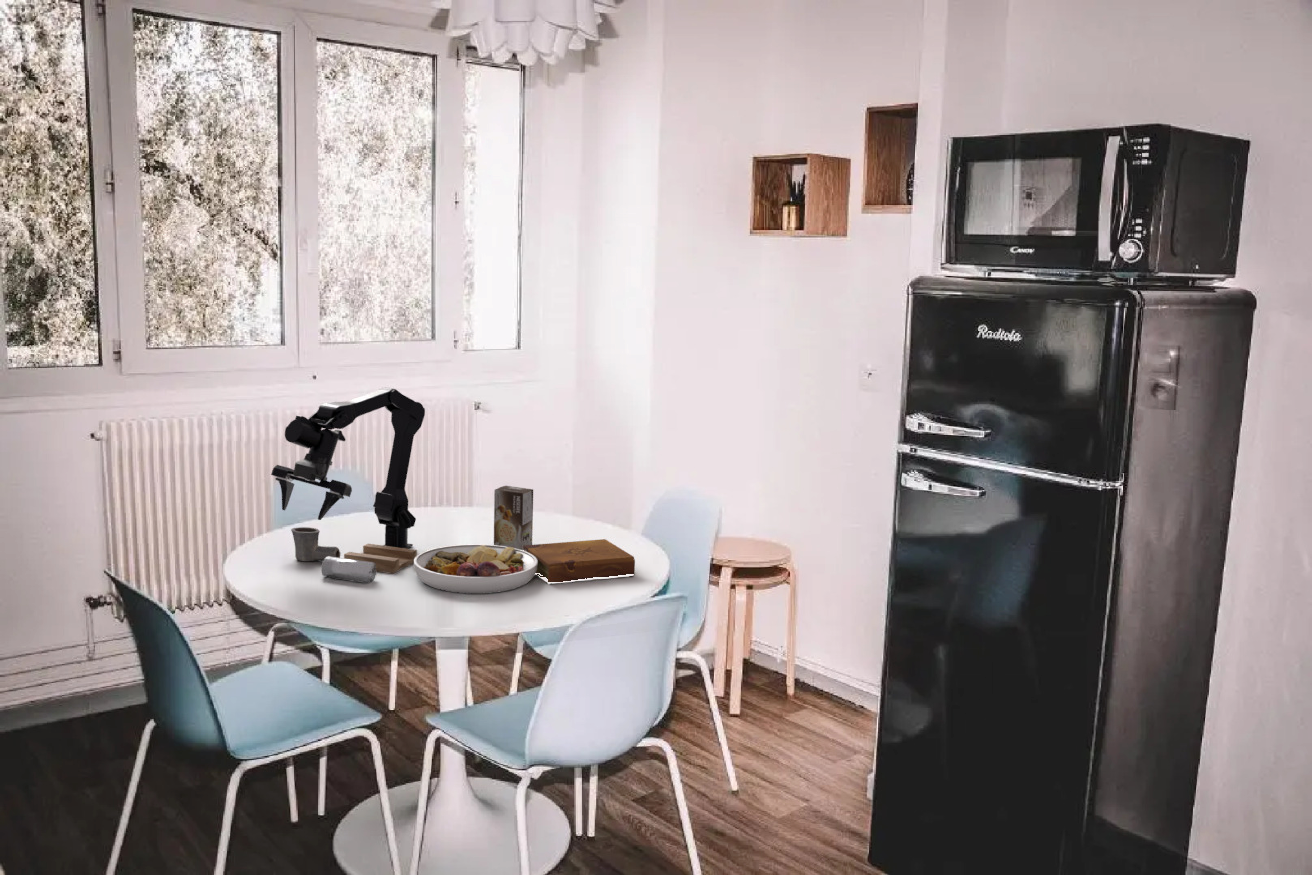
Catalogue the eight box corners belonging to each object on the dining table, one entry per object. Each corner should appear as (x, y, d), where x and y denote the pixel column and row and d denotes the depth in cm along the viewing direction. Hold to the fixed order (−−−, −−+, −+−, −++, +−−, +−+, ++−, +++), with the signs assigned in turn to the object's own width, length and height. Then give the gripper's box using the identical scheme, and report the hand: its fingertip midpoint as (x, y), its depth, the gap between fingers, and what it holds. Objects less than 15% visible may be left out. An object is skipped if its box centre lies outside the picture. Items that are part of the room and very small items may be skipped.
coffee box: (533, 546, 322) (535, 489, 319) (522, 551, 316) (523, 493, 314) (503, 542, 325) (505, 484, 323) (492, 547, 320) (493, 489, 317)
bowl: (402, 567, 298) (402, 536, 297) (516, 559, 310) (517, 530, 309) (429, 602, 271) (429, 569, 270) (553, 592, 283) (554, 560, 282)
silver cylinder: (332, 573, 289) (332, 554, 288) (376, 580, 286) (376, 560, 285) (321, 579, 284) (321, 559, 283) (365, 585, 281) (365, 565, 280)
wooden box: (548, 587, 288) (549, 564, 287) (522, 567, 304) (523, 545, 303) (634, 578, 298) (635, 556, 297) (604, 559, 314) (605, 538, 313)
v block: (369, 554, 307) (369, 542, 307) (418, 560, 303) (418, 549, 303) (342, 566, 295) (342, 554, 294) (392, 573, 291) (392, 561, 290)
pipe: (332, 566, 295) (332, 535, 293) (285, 561, 297) (285, 530, 296) (343, 560, 300) (344, 529, 299) (297, 555, 303) (297, 525, 302)
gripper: (273, 438, 282) (252, 501, 279) (346, 457, 280) (326, 521, 278) (289, 446, 293) (269, 506, 290) (360, 465, 291) (341, 526, 289)
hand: (301, 514), depth 286 cm, fingers open, 9 cm apart
